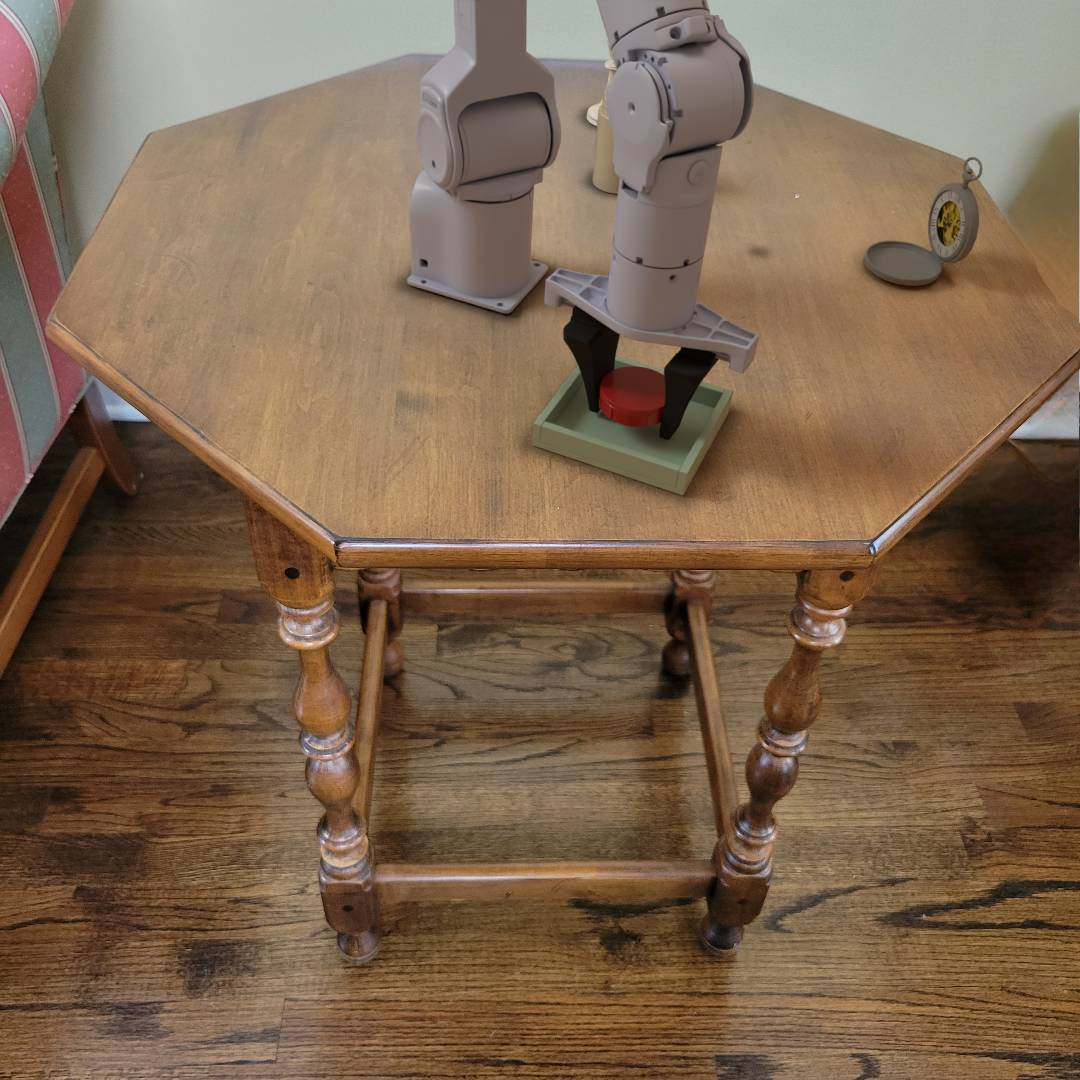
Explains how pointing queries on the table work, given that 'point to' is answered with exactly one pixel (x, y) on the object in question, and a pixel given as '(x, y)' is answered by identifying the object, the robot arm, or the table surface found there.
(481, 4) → the robot arm
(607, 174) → the jar
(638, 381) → the lid
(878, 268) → the pocket watch
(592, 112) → the chess piece
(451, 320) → the table surface
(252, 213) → the table surface
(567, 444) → the tray
